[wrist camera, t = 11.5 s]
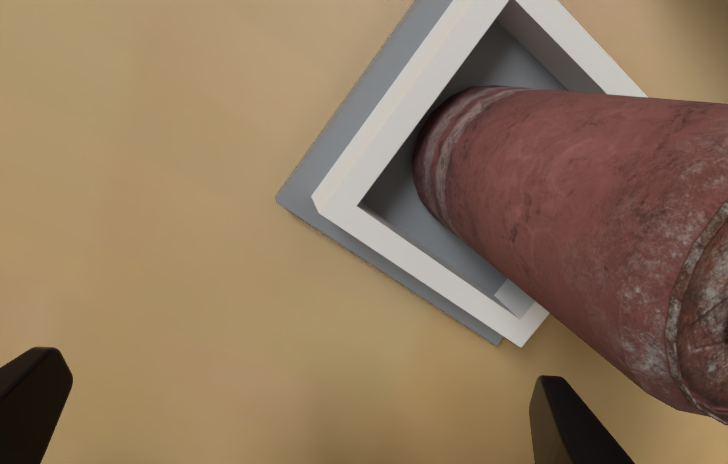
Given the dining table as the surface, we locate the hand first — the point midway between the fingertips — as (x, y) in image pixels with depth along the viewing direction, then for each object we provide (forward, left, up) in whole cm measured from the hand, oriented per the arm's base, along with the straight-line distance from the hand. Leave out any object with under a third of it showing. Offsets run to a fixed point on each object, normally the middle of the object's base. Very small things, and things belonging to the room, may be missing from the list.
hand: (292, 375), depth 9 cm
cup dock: (+7, -7, -13) cm, 16 cm away
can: (+7, -6, -12) cm, 15 cm away
